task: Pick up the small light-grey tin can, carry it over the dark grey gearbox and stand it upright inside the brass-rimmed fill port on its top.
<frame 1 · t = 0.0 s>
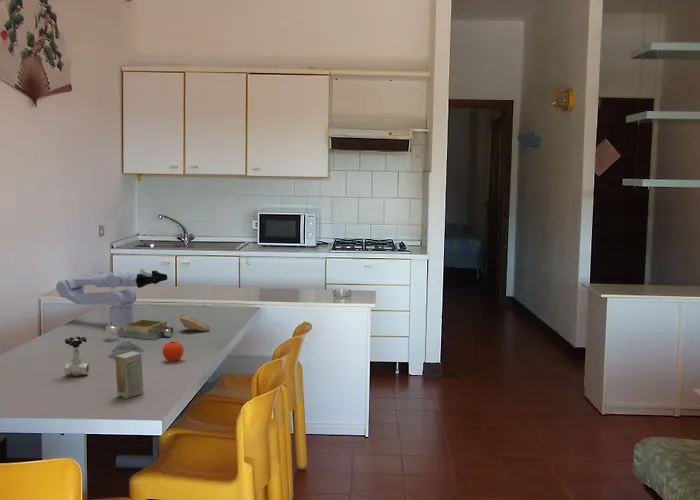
hand: (160, 278, 275), 22 cm above the table, tool horizontal, fingers open, 7 cm apart
tin can: (112, 340, 263), on the table
cloth: (125, 353, 247), on the table
skincare box: (130, 395, 199), on the table
pottery oil lamp: (194, 331, 277), on the table
clementine: (173, 361, 235), on the table
gearbox: (145, 334, 272), on the table
valve: (77, 376, 217), on the table
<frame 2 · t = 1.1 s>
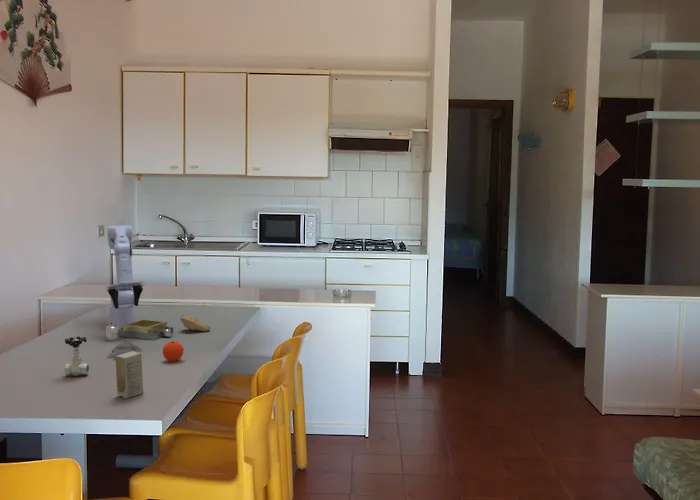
hand: (126, 306, 262), 13 cm above the table, tool tilted 20°, fingers open, 7 cm apart
nothing on the table moved.
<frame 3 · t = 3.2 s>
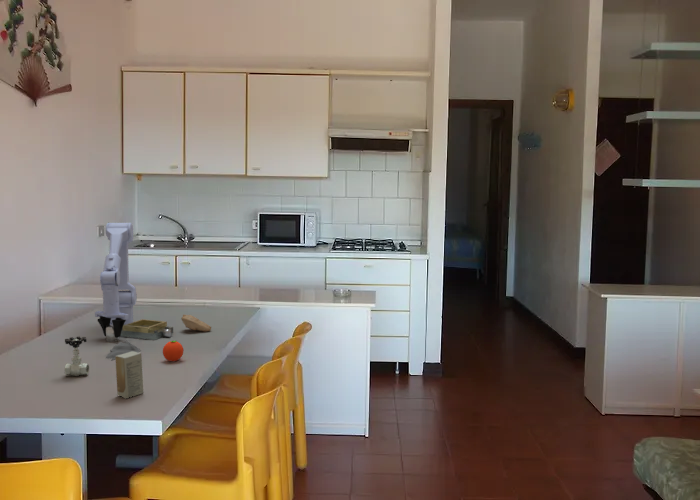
hand: (112, 336, 263), 1 cm above the table, tool pointing down, fingers closed on tin can, 5 cm apart
tin can: (112, 340, 263), on the table, touching gripper
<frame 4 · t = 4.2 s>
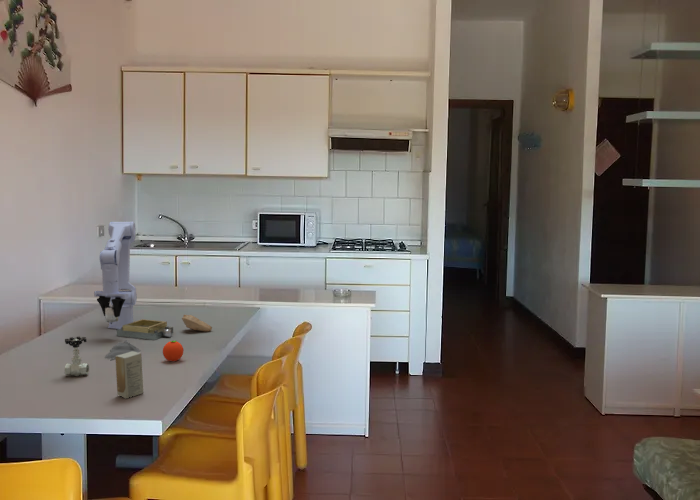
hand: (111, 316, 262), 9 cm above the table, tool pointing down, fingers closed on tin can, 5 cm apart
tin can: (111, 320, 262), point 8 cm above the table, touching gripper
everything else where it was.
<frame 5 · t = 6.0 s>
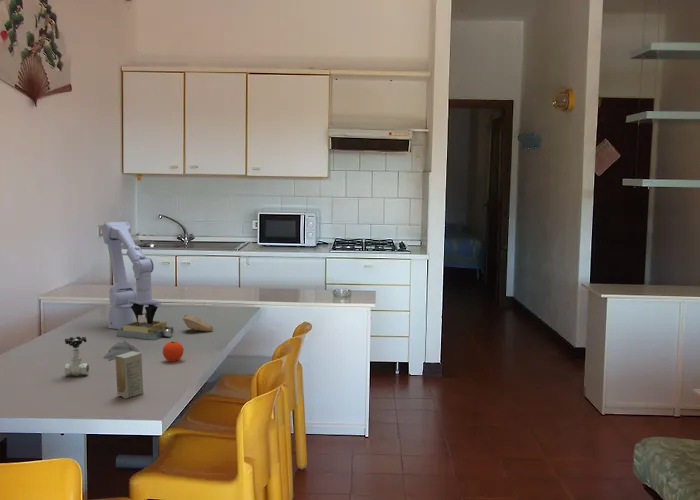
hand: (144, 322, 271), 5 cm above the table, tool pointing down, fingers closed on tin can, 4 cm apart
tin can: (144, 327, 271), point 3 cm above the table, touching gripper
when the fingers open (5 cm above the table, at t = 6.4 s): tin can stays where it is, resting on gearbox.
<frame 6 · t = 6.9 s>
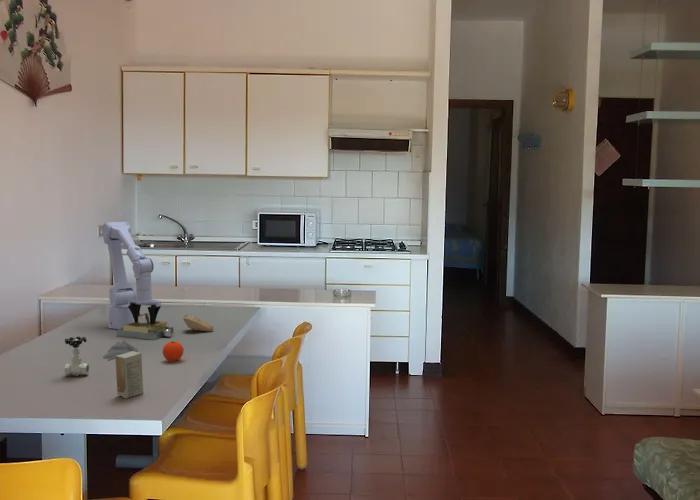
hand: (144, 322, 271), 5 cm above the table, tool pointing down, fingers open, 7 cm apart
tin can: (144, 328, 271), point 2 cm above the table, touching gearbox
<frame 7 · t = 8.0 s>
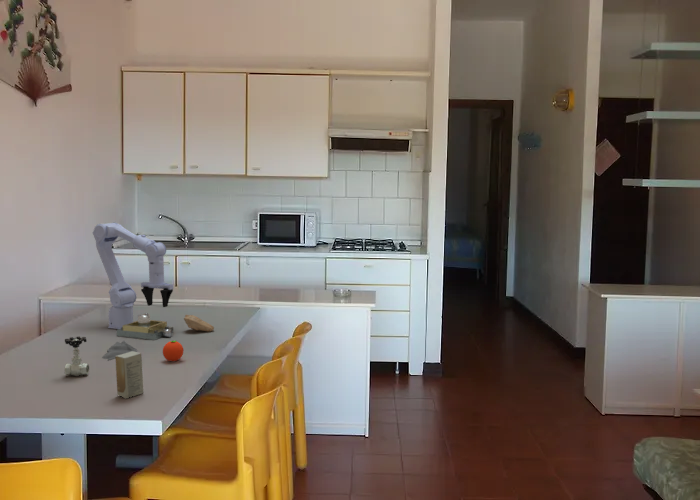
hand: (157, 306, 276), 10 cm above the table, tool pointing down, fingers open, 7 cm apart
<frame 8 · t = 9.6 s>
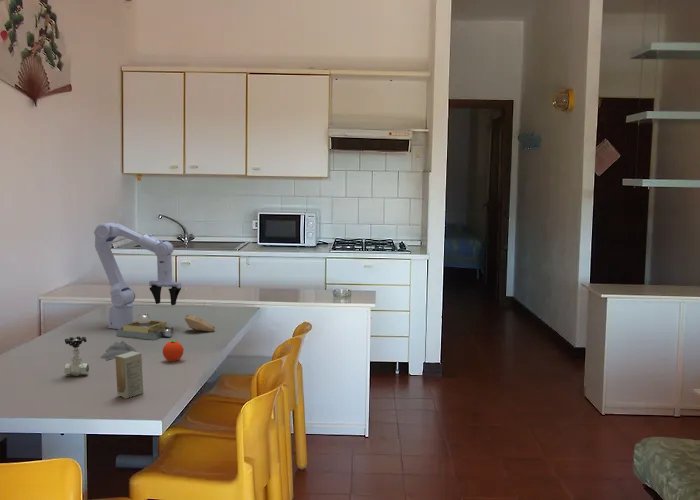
hand: (165, 304, 280), 10 cm above the table, tool pointing down, fingers open, 7 cm apart
at the end: tin can 0.4 cm from the gearbox (horizontally); tin can tilted 0°; the gripper is holding nothing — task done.
